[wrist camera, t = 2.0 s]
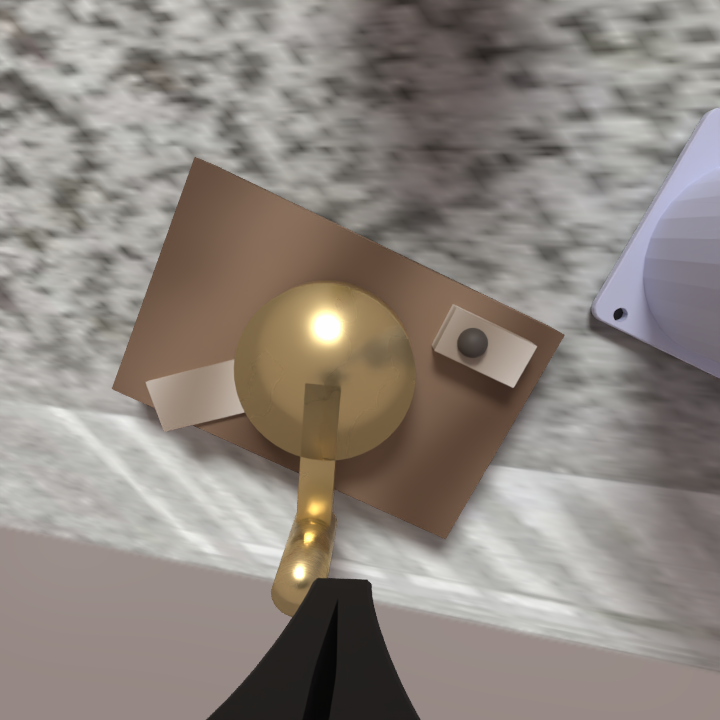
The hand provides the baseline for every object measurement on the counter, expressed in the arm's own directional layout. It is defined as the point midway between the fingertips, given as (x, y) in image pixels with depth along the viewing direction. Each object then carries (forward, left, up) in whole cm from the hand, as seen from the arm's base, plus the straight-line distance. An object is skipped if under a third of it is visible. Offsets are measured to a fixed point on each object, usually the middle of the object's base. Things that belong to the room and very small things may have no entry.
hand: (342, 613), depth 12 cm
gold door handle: (+2, -2, -7) cm, 8 cm away
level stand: (+3, -4, -9) cm, 10 cm away
